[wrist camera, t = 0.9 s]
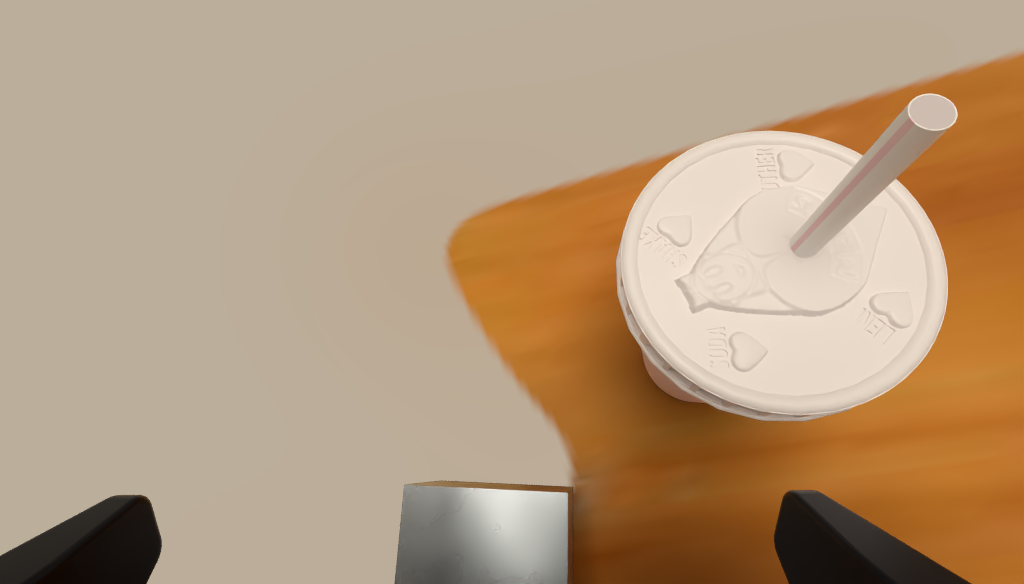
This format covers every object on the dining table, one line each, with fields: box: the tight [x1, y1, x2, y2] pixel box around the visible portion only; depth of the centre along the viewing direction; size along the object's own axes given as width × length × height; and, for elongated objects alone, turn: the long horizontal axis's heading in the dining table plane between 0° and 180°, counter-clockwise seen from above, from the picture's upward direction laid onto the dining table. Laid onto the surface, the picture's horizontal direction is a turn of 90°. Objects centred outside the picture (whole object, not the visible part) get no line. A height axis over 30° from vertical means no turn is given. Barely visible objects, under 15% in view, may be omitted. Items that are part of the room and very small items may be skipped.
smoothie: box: [616, 94, 957, 421], centre depth 13 cm, size 6×6×14 cm
